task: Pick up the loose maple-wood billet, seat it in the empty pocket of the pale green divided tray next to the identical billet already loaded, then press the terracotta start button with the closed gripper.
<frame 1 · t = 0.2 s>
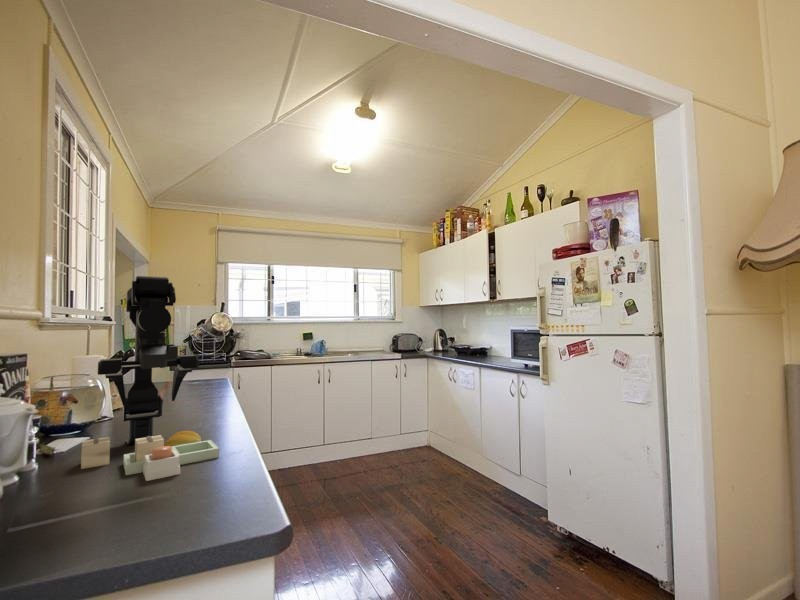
hand: (149, 403, 89), 14 cm above the countertop, fingers open, 9 cm apart
pale green divided tray: (172, 462, 92), on the countertop
start button: (162, 453, 85), point 4 cm above the countertop, slide at 0.0 cm
button housing: (161, 475, 84), on the countertop
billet: (95, 466, 91), on the countertop
loaded billet: (149, 464, 90), resting on pale green divided tray
bread roll: (182, 448, 104), on the countertop
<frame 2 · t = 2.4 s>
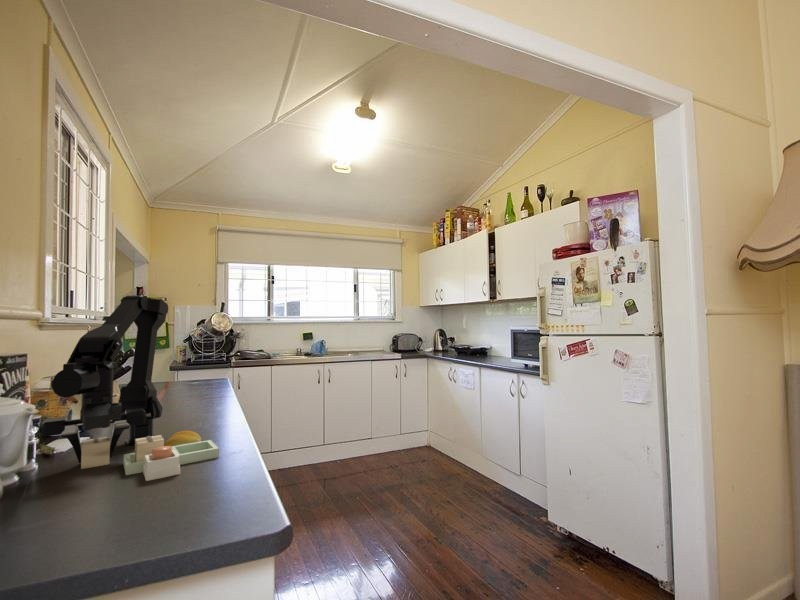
hand: (95, 460, 91), 1 cm above the countertop, fingers closed on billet, 5 cm apart
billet: (95, 465, 91), on the countertop, touching gripper
everything else where it was.
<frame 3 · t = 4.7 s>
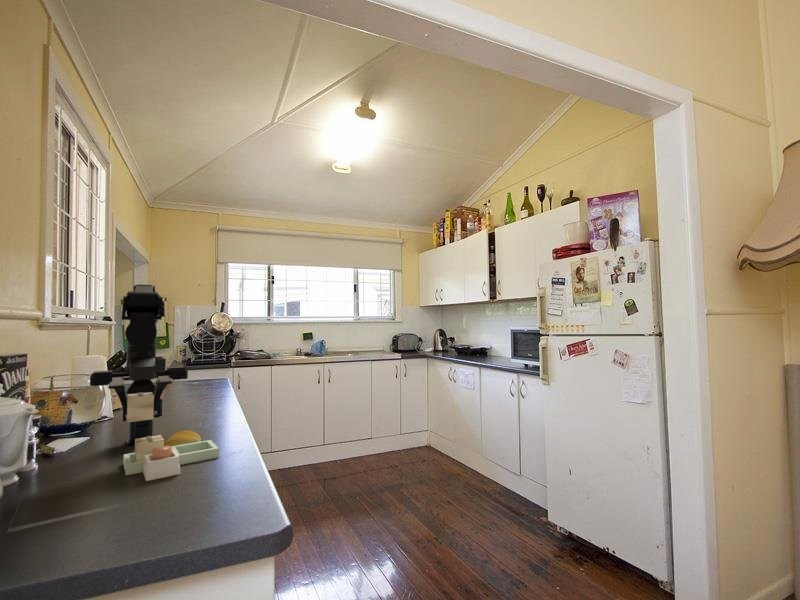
hand: (140, 413, 93), 11 cm above the countertop, fingers closed on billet, 5 cm apart
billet: (139, 418, 93), point 10 cm above the countertop, touching gripper
everything else where it was.
when the fingers open (3 cm above the countertop, at t = 7.3 s): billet drops 1 cm, resting on pale green divided tray.
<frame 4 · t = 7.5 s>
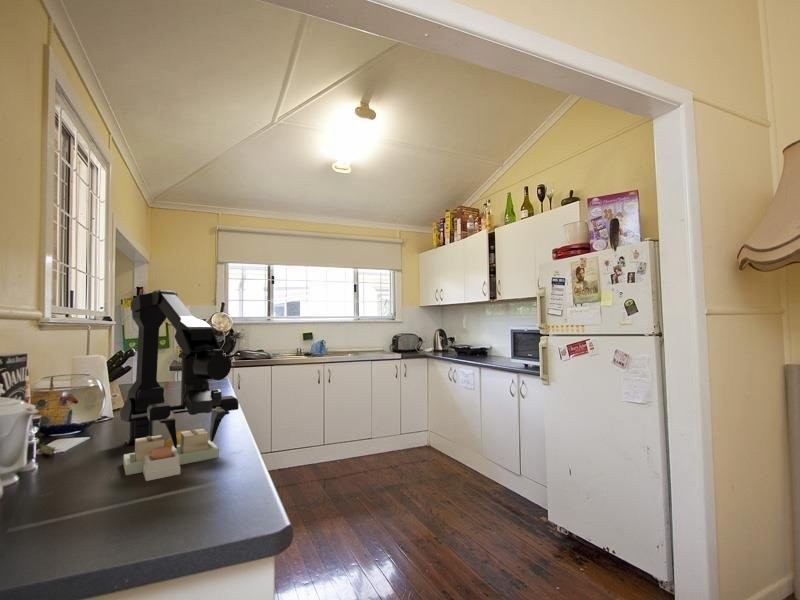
hand: (193, 444, 95), 3 cm above the countertop, fingers open, 7 cm apart
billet: (193, 456, 95), resting on pale green divided tray
everything else where it was.
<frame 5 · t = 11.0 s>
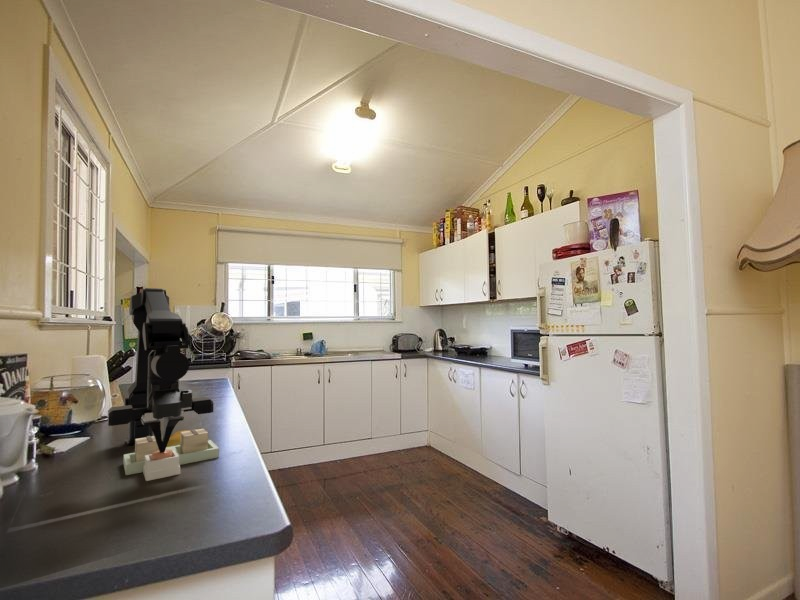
hand: (162, 452, 85), 5 cm above the countertop, fingers closed, pressing on start button
start button: (161, 456, 85), point 4 cm above the countertop, slide at 0.7 cm, touching gripper
everything else where it was.
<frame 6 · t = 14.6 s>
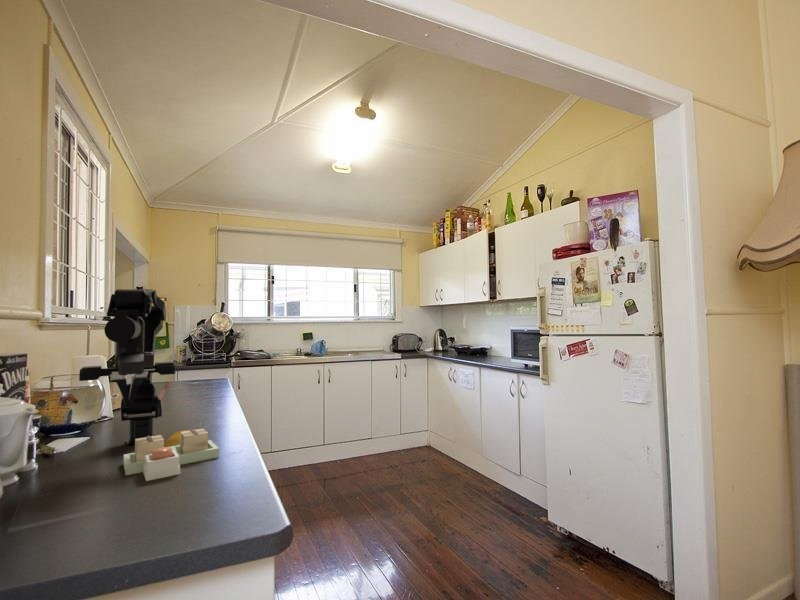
hand: (128, 407, 96), 12 cm above the countertop, fingers closed
start button: (161, 454, 85), point 4 cm above the countertop, slide at 0.3 cm
everything else where it was.
at the end: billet 0.1 cm from the target spot on the pale green divided tray, point 0.5 cm above the pale green divided tray's base; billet tilted 0°; the gripper is holding nothing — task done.
